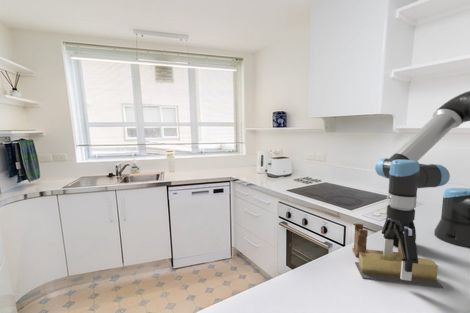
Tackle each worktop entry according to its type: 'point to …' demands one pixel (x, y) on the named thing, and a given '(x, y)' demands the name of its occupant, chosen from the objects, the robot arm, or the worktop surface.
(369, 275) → the mat
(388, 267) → the rail
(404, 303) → the worktop surface
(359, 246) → the rack
